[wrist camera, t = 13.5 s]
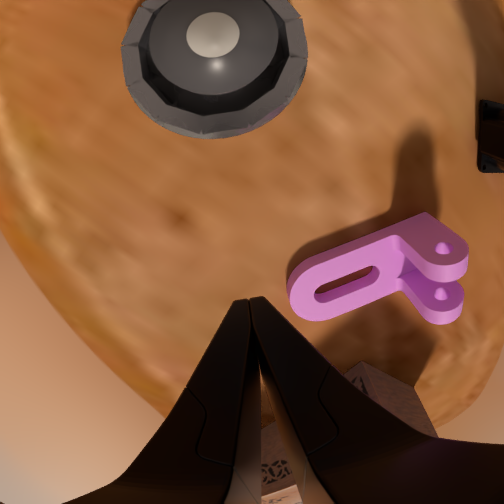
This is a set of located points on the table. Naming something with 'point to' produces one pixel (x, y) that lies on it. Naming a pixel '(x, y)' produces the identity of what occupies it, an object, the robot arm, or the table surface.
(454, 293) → the bracket
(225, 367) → the robot arm
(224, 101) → the shallow metal dish
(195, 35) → the cap
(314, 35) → the table surface
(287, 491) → the tissue box cover
